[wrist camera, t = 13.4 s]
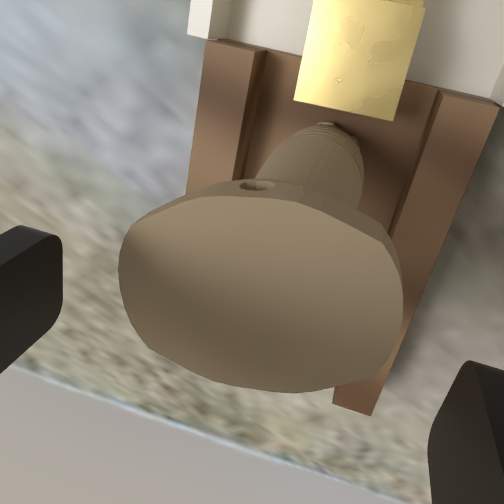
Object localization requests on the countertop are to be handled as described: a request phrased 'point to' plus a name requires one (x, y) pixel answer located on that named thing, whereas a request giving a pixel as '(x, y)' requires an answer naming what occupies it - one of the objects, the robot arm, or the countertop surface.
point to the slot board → (372, 151)
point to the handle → (269, 273)
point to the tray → (425, 52)
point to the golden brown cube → (409, 2)
